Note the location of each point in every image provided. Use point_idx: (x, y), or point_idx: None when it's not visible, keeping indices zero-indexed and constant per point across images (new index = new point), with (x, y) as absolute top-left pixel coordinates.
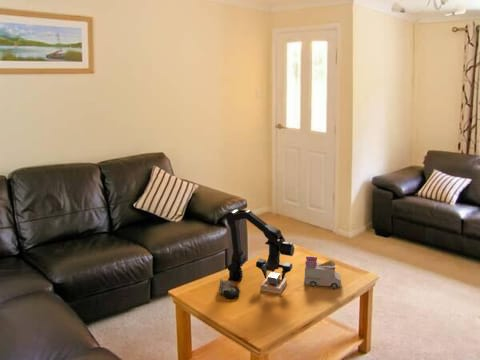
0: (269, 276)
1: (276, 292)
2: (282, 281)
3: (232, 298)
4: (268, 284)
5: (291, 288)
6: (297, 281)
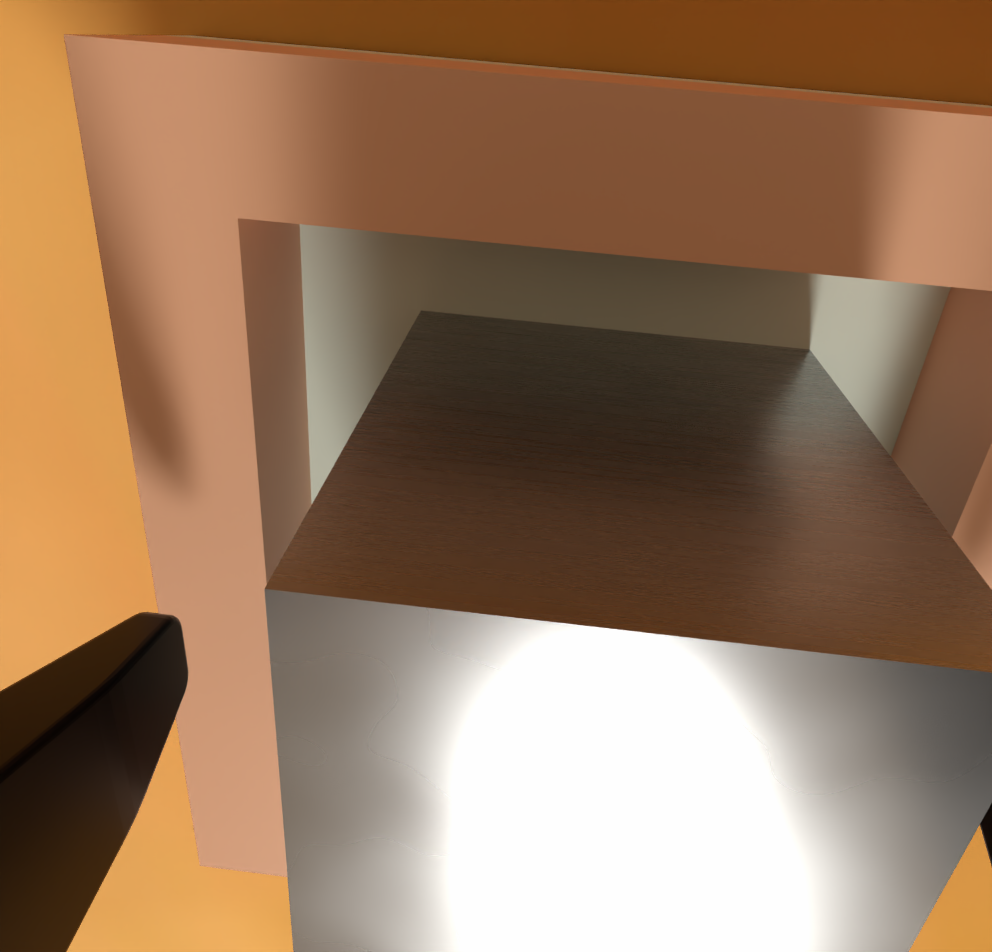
0: (886, 749)
1: (359, 50)
2: (265, 711)
3: None
4: (797, 397)
5: (18, 523)
6: None
